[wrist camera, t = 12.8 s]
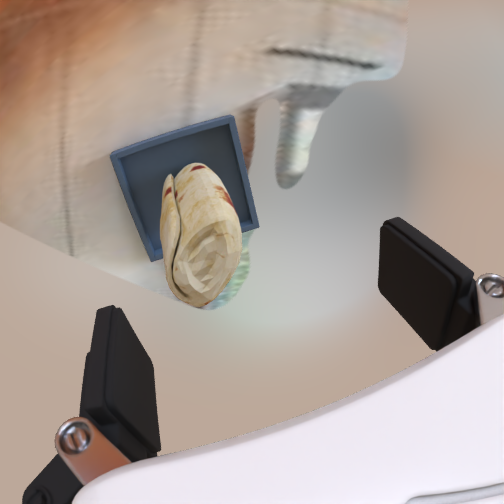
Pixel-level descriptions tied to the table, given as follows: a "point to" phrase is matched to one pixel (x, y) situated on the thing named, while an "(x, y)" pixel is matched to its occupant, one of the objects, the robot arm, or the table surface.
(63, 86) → the table surface
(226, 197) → the food model
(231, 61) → the table surface
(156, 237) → the serving tray
